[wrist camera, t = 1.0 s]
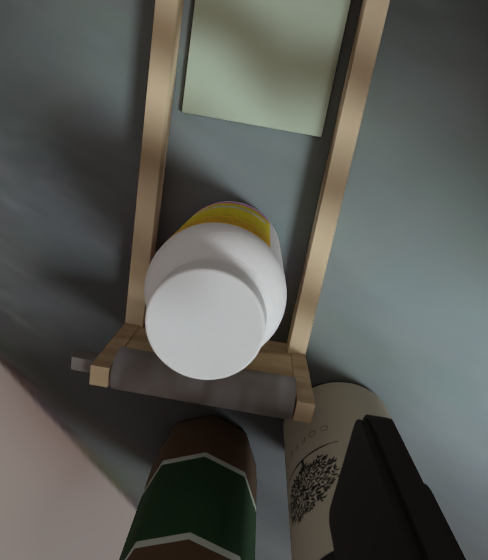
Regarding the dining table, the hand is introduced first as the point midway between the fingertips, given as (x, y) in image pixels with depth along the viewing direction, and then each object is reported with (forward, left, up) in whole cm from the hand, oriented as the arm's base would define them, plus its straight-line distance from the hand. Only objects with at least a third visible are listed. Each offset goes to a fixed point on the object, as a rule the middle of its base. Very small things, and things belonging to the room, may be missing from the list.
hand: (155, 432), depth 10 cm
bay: (-2, -6, -19) cm, 20 cm away
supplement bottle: (0, 0, -19) cm, 19 cm away
